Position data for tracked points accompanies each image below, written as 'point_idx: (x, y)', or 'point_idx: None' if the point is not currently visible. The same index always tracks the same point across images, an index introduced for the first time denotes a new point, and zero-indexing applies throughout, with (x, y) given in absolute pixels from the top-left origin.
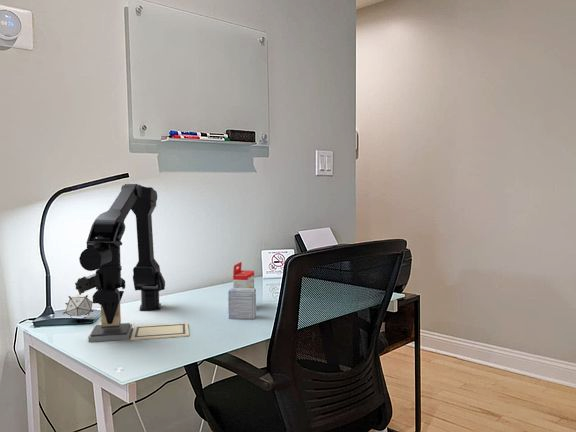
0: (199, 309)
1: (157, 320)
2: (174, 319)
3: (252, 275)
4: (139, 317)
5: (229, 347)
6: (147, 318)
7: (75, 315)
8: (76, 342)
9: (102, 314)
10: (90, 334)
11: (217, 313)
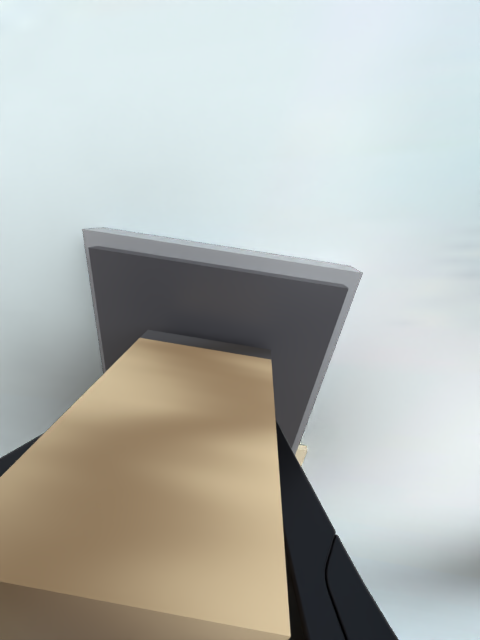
0: (417, 608)
1: (361, 517)
2: None
3: None
4: (472, 482)
5: None
6: (424, 500)
7: None
8: (109, 138)
9: (67, 426)
10: (154, 243)
11: None
